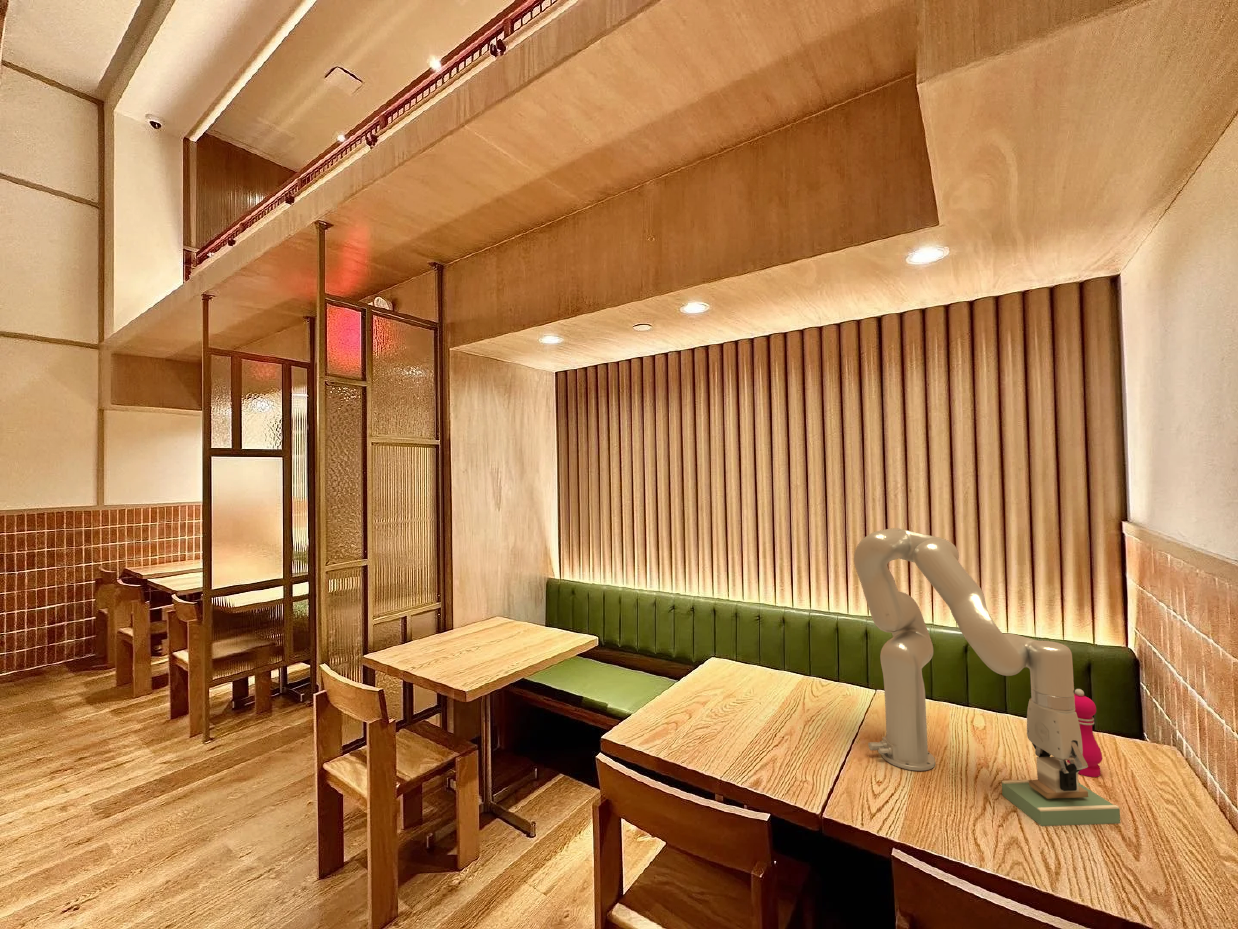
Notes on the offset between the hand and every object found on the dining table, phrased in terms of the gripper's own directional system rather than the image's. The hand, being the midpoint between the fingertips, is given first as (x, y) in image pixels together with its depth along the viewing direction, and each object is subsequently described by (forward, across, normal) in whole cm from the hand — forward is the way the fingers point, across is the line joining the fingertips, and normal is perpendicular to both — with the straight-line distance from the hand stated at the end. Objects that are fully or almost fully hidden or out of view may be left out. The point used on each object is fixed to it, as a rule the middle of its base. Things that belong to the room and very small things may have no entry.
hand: (1057, 781), depth 117 cm
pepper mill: (+6, -14, +19) cm, 25 cm away
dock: (+6, 0, 0) cm, 6 cm away
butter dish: (+2, 0, 0) cm, 2 cm away
